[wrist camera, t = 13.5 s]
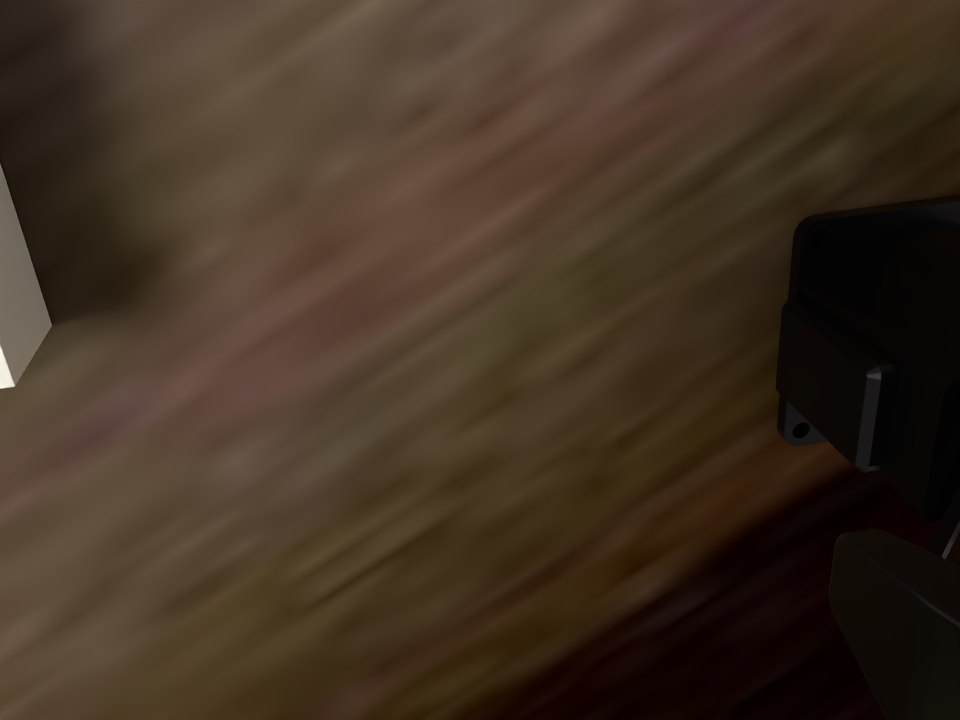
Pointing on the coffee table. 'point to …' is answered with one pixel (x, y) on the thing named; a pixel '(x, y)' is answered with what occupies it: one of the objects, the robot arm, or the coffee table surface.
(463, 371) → the coffee table surface
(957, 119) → the coffee table surface
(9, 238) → the parts tray
